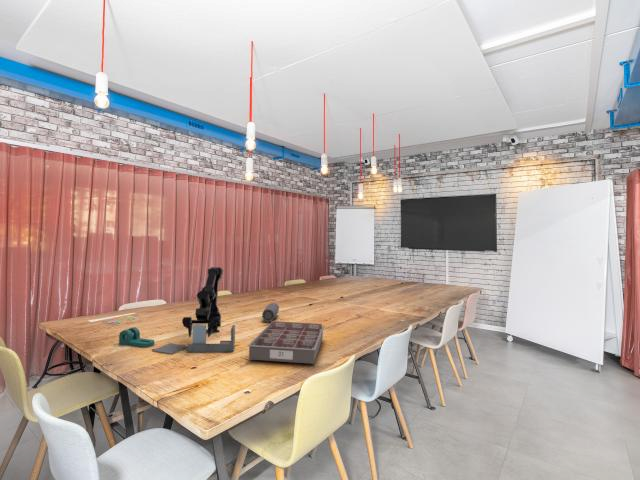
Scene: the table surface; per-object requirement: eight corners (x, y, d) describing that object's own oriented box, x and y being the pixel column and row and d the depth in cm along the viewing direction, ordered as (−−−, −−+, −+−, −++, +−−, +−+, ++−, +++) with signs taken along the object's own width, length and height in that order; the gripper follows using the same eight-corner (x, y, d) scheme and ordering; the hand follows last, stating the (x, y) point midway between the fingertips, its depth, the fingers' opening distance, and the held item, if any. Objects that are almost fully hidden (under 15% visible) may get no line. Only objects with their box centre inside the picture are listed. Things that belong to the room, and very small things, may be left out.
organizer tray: (246, 362, 155) (247, 341, 155) (269, 337, 195) (269, 320, 194) (315, 367, 151) (315, 345, 151) (324, 340, 191) (324, 323, 191)
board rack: (190, 348, 171) (190, 325, 171) (234, 348, 174) (235, 325, 173) (187, 352, 165) (187, 328, 165) (233, 352, 168) (233, 328, 168)
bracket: (119, 344, 175) (119, 329, 175) (129, 341, 181) (129, 326, 181) (147, 348, 170) (147, 333, 170) (157, 344, 177) (157, 329, 177)
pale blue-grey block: (193, 349, 170) (194, 324, 169) (205, 349, 170) (206, 324, 170) (192, 351, 167) (192, 325, 167) (204, 351, 168) (205, 325, 168)
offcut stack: (220, 349, 171) (220, 341, 171) (230, 349, 172) (230, 341, 172) (219, 351, 169) (219, 343, 169) (229, 351, 169) (229, 343, 169)
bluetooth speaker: (275, 323, 224) (275, 308, 224) (261, 323, 224) (261, 308, 224) (279, 315, 247) (279, 302, 246) (267, 315, 247) (267, 301, 247)
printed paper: (135, 313, 244) (135, 311, 243) (156, 321, 226) (156, 318, 226) (87, 321, 219) (87, 318, 219) (107, 330, 202) (107, 328, 202)
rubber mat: (170, 344, 177) (170, 343, 177) (188, 347, 173) (188, 345, 173) (152, 351, 166) (152, 350, 166) (171, 354, 162) (171, 353, 162)
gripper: (183, 301, 172) (176, 328, 161) (220, 301, 174) (216, 328, 163) (187, 313, 180) (180, 340, 169) (222, 313, 182) (218, 339, 171)
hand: (198, 336), depth 168 cm, fingers open, 9 cm apart
